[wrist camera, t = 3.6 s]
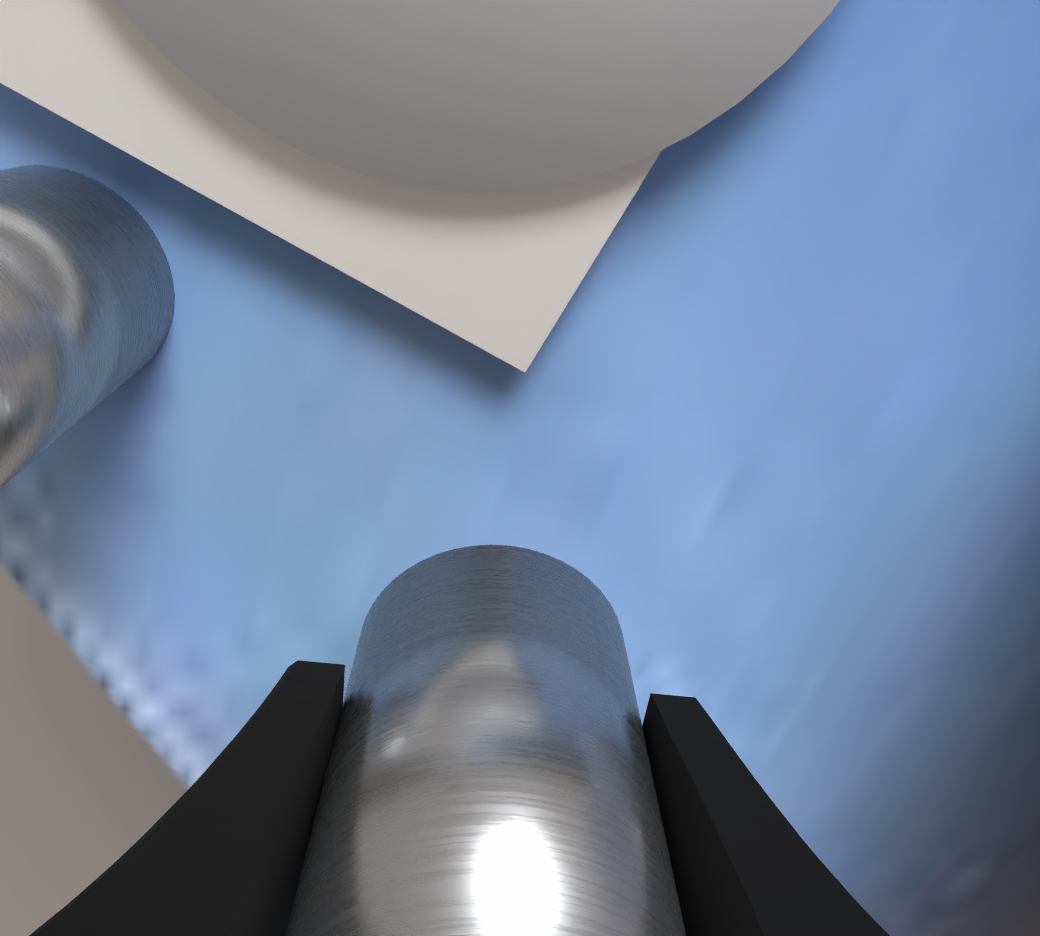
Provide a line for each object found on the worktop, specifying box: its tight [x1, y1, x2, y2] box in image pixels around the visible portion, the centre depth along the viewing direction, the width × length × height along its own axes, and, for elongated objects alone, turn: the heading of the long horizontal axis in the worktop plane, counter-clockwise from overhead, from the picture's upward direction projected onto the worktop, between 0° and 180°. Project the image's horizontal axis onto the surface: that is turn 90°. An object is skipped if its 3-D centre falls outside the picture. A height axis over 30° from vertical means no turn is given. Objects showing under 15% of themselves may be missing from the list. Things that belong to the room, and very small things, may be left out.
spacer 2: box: [285, 545, 686, 936], centre depth 10 cm, size 4×4×6 cm
